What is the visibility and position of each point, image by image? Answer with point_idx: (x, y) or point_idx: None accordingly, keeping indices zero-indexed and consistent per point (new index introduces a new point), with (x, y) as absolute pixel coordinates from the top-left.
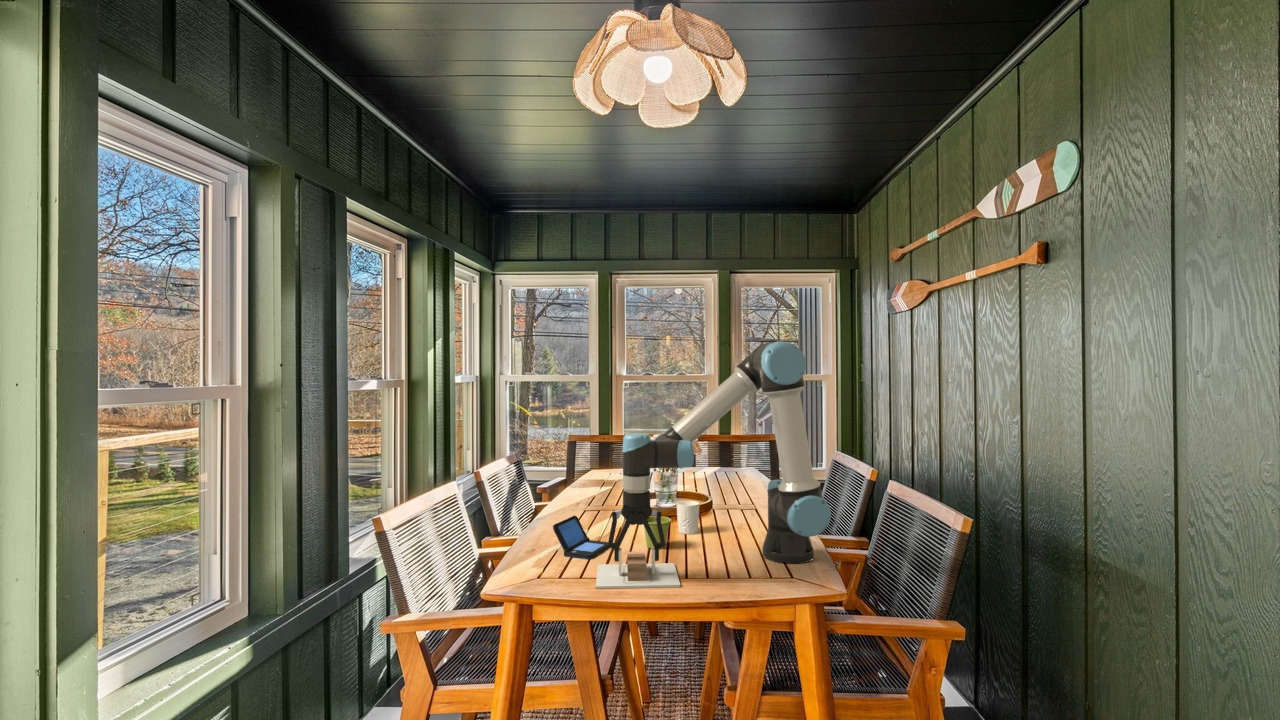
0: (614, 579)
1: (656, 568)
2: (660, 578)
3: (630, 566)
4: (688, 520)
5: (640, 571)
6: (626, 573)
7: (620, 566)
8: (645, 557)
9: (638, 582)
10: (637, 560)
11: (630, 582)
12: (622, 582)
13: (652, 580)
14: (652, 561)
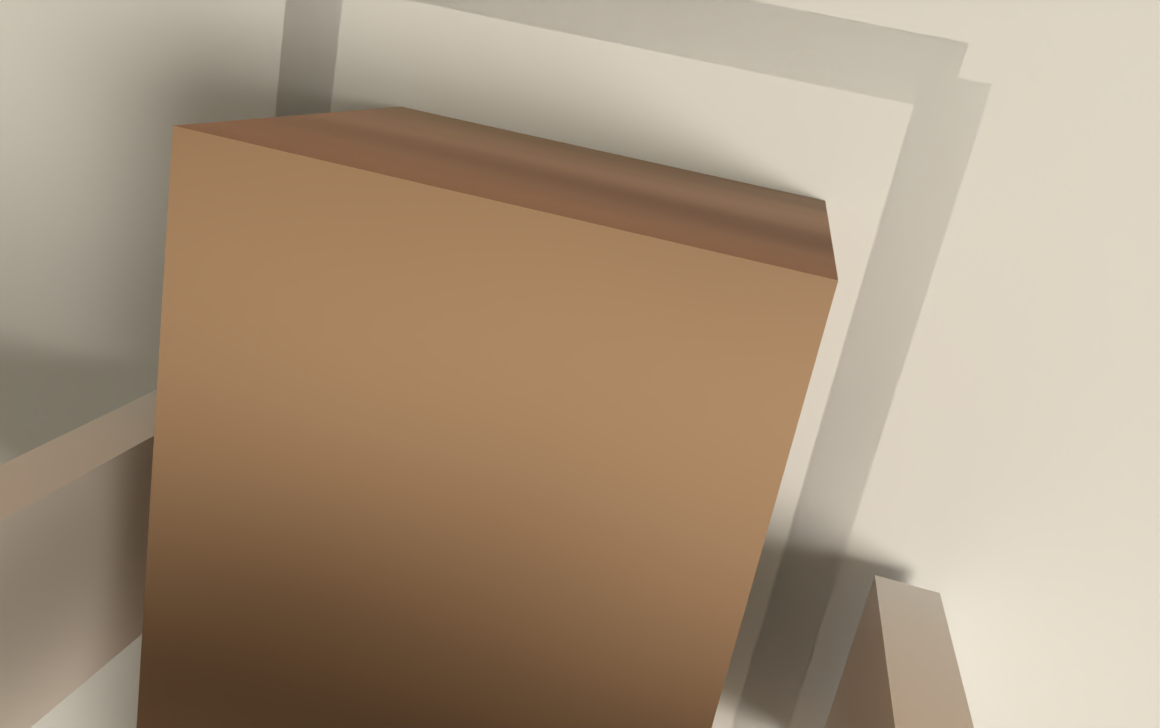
0: (1115, 395)
1: (119, 718)
2: (108, 166)
3: (739, 241)
4: None
5: (464, 152)
6: None
7: (919, 690)
8: (140, 722)
9: (604, 32)
10: (409, 550)
11: (792, 78)
12: (986, 136)
13: (279, 88)
14: (21, 498)
